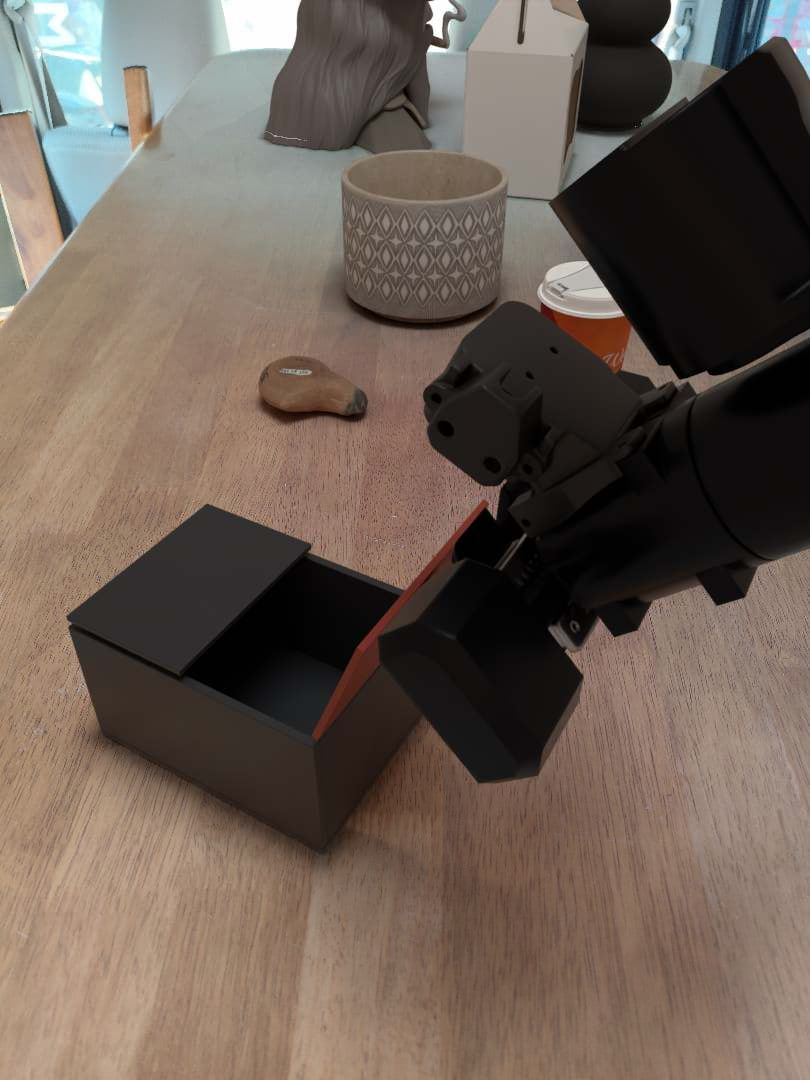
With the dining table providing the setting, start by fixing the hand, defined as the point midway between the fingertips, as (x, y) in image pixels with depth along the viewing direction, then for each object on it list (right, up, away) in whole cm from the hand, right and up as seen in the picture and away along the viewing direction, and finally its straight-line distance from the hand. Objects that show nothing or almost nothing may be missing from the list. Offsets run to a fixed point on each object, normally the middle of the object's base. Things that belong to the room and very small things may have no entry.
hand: (424, 606), depth 39 cm
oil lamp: (-9, +14, +40) cm, 43 cm away
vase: (+33, +71, +110) cm, 135 cm away
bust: (-8, +71, +108) cm, 130 cm away
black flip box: (-9, -7, +12) cm, 17 cm away
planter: (+1, +29, +57) cm, 64 cm away
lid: (-1, 0, +1) cm, 2 cm away
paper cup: (+13, +11, +36) cm, 40 cm away
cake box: (+16, +56, +90) cm, 107 cm away
